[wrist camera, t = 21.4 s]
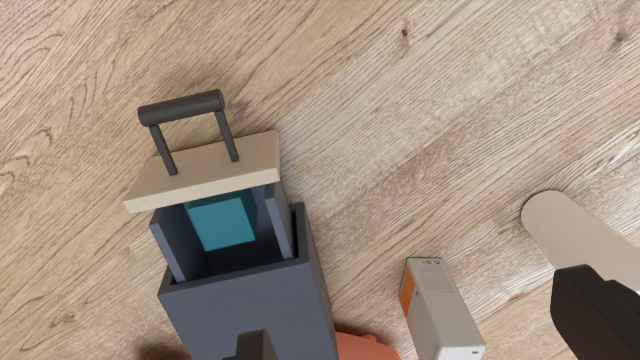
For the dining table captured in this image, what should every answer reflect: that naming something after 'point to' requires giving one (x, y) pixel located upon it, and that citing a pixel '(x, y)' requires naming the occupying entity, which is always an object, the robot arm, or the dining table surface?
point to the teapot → (363, 348)
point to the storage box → (257, 305)
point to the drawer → (211, 192)
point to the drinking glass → (580, 238)
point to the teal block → (225, 218)
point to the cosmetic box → (438, 313)
